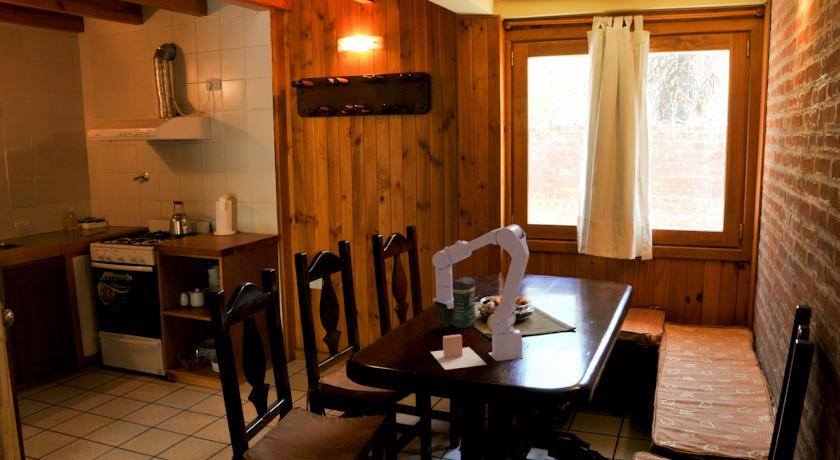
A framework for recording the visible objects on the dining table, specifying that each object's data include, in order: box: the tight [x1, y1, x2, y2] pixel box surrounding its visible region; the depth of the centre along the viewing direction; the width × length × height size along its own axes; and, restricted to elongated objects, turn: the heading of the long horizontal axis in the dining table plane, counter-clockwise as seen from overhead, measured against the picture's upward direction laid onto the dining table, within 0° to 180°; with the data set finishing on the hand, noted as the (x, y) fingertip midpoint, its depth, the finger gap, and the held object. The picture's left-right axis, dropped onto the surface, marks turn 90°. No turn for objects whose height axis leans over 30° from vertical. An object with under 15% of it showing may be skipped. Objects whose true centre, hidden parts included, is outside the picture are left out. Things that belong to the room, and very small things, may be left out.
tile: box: [442, 334, 463, 358], centre depth 224 cm, size 6×2×7 cm, turn 104°
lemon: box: [486, 312, 495, 333], centre depth 247 cm, size 6×6×8 cm
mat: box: [430, 346, 488, 371], centre depth 223 cm, size 14×18×1 cm
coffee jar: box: [451, 276, 477, 329], centre depth 259 cm, size 10×8×19 cm
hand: (445, 323), depth 231 cm, fingers open, 4 cm apart
